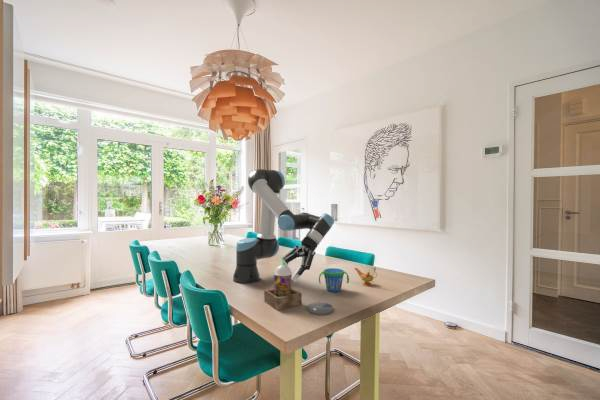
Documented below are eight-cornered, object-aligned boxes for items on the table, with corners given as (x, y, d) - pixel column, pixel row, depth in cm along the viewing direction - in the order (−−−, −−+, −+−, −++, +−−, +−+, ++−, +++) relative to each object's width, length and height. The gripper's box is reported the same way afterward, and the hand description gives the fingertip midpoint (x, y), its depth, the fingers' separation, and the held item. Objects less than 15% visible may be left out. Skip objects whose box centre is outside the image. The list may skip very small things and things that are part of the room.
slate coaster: (306, 314, 114) (306, 311, 114) (307, 304, 125) (307, 301, 125) (333, 315, 113) (333, 312, 113) (332, 305, 124) (332, 302, 124)
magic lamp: (359, 278, 166) (359, 260, 166) (381, 287, 150) (381, 266, 150) (349, 280, 163) (350, 261, 163) (371, 289, 147) (371, 268, 147)
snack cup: (319, 293, 140) (319, 273, 140) (318, 286, 150) (318, 267, 150) (350, 293, 139) (350, 273, 139) (347, 287, 150) (347, 268, 150)
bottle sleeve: (277, 310, 118) (277, 298, 118) (264, 301, 128) (264, 290, 128) (301, 304, 125) (301, 293, 125) (287, 296, 135) (287, 285, 135)
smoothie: (277, 307, 121) (278, 261, 121) (270, 301, 128) (270, 257, 128) (294, 304, 125) (295, 259, 125) (287, 298, 132) (287, 256, 132)
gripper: (332, 249, 126) (305, 289, 117) (301, 242, 146) (276, 275, 138) (323, 238, 123) (295, 278, 114) (293, 233, 143) (267, 266, 135)
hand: (284, 276), depth 126 cm, fingers open, 13 cm apart
